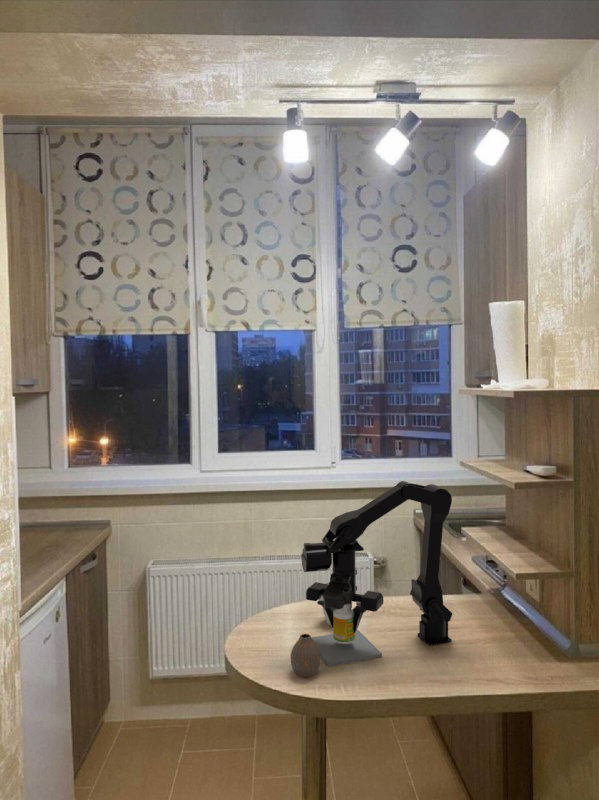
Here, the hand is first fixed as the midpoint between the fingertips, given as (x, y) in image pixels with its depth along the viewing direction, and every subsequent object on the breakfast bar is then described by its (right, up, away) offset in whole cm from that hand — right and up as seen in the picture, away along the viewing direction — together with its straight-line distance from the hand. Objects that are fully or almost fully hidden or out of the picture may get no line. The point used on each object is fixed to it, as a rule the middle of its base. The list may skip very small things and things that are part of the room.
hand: (344, 629), depth 152 cm
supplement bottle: (0, -3, 0) cm, 3 cm away
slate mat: (0, -5, 0) cm, 5 cm away
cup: (-1, -4, +16) cm, 16 cm away
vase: (-10, -6, -12) cm, 16 cm away
